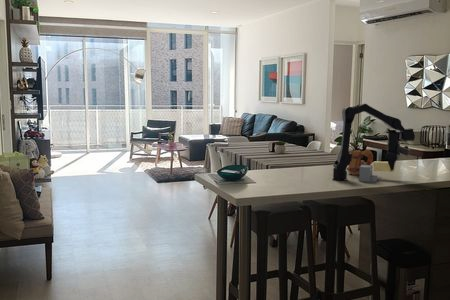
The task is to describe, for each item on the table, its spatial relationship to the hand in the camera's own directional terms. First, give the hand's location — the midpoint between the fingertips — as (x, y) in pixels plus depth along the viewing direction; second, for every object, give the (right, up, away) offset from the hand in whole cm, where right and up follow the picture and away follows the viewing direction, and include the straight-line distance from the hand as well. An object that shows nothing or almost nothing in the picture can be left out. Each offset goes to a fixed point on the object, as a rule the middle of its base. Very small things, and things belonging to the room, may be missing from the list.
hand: (392, 169), depth 241 cm
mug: (-13, -4, +17) cm, 22 cm away
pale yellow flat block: (-4, -1, +2) cm, 4 cm away
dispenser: (-13, -6, -2) cm, 15 cm away
